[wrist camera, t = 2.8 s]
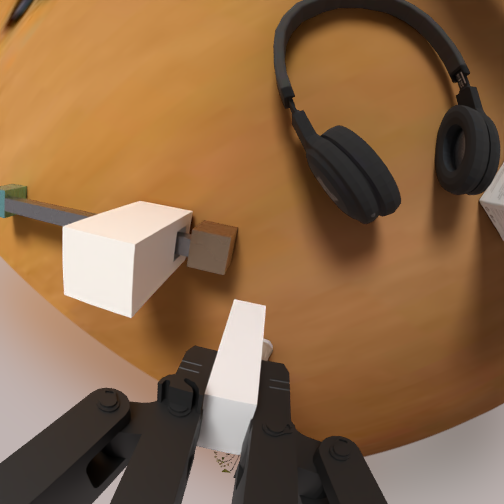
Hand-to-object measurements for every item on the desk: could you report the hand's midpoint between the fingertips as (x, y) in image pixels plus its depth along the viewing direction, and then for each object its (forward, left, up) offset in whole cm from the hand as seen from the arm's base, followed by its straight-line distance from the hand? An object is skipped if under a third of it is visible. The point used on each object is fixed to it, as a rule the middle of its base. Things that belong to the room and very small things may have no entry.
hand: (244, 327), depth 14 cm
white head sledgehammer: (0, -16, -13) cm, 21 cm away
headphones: (-16, +7, -13) cm, 22 cm away
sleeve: (0, -9, -12) cm, 15 cm away
